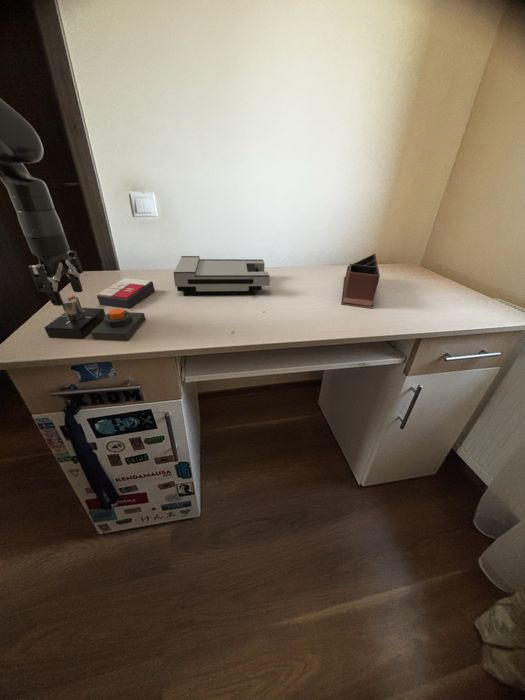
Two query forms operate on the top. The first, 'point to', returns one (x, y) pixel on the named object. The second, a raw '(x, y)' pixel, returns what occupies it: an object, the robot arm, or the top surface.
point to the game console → (219, 276)
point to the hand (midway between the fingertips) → (69, 298)
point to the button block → (118, 327)
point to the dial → (72, 308)
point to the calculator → (126, 293)
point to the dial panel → (75, 324)
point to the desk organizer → (361, 283)
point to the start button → (116, 314)
